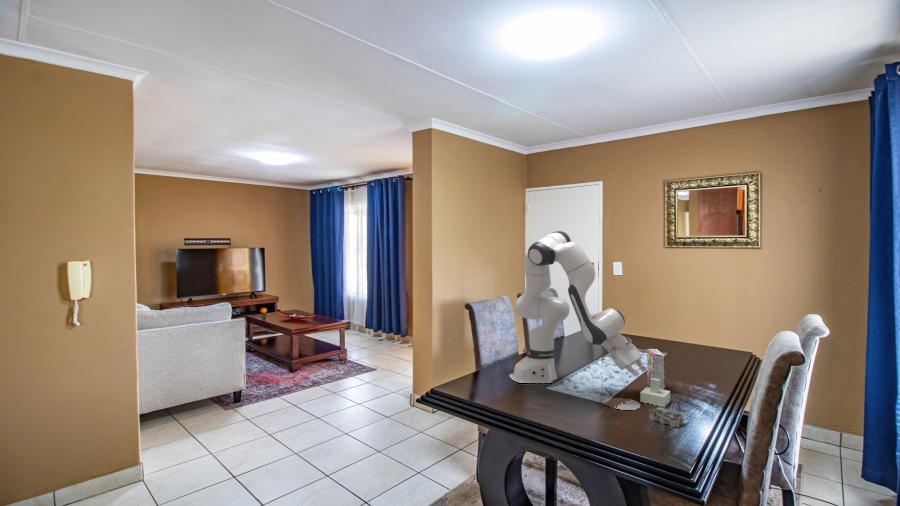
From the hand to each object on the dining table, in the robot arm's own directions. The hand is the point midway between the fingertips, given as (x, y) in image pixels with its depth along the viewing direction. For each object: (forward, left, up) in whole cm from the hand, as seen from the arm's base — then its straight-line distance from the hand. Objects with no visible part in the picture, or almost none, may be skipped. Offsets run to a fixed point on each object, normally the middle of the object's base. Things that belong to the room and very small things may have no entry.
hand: (641, 373), depth 177 cm
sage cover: (+5, -2, -11) cm, 12 cm away
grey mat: (-10, -2, -11) cm, 15 cm away
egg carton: (-4, -20, -12) cm, 24 cm away
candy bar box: (+15, +12, -11) cm, 22 cm away
